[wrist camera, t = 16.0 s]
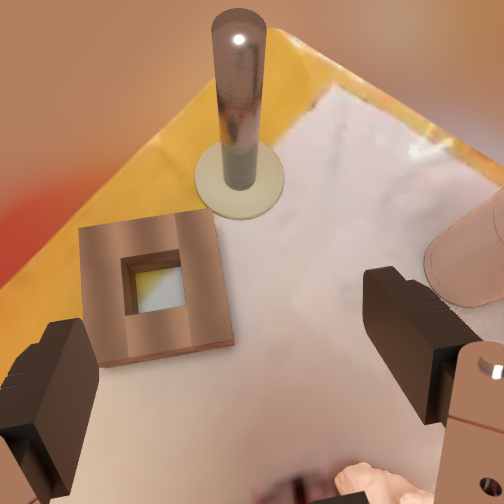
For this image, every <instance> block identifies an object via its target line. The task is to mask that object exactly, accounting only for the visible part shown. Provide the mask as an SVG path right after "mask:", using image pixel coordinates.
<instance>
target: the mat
mask: <svg viewBox="0 0 504 504" xmlns="http://www.w3.org/2000/svg"><path fill="white" fill-rule="evenodd" d="M195 183H196V188H197V192H198V194H199V197H200V198H201V200H202V201H203V203H204V204H205V205H206V206H207V207H208V208H212V211H213V212H214V213H216V214H218V215H220V216H222V217H225V218H228V219H234V220H245V219H251V218H254V217H257V216H260V215H262V214H264V213H265V212H267V211H268V210H269V209H270V208H271V207H273V205H274V204H275V203H276V202H277V200H278V199H279V197H280V194H281V192H282V188H283V183H284V171H283V167H282V164H281V162H280V159H279V158H278V156H277V155H276V154H275V152H274V151H273V150H272V149H271V148H270V147H268V146H267V145H265V144H264V143H262V142H260V141H259V143H258V157H257V171H256V180H255V183H254V184H253V185H252V186H251V187H250V188H249V189H247V190H243V191H236V190H233V189H231V188H230V187H228V186H227V185H226V183H225V181H224V176H223V164H222V151H221V141H219V142H217V143H215V144H213V145H212V146H210V147H209V148H208V149H207V150H206V151H205V152H204V153H203V154H202V156H201V157H200V159H199V161H198V163H197V166H196V170H195Z"/></svg>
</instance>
